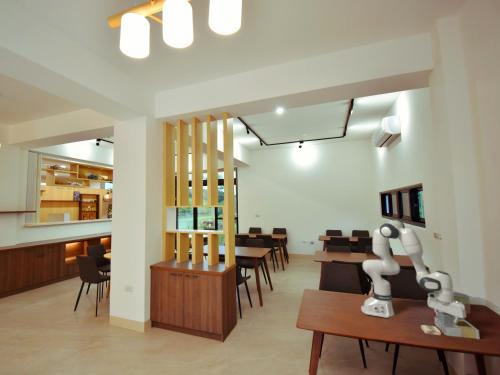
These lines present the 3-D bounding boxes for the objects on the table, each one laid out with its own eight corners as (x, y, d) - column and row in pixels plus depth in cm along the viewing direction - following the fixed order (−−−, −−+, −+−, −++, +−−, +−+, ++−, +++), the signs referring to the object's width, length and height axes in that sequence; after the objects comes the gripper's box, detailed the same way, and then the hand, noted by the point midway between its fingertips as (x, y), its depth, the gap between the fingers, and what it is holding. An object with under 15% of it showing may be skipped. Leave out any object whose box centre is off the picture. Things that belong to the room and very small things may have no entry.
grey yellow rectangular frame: (446, 335, 145) (445, 326, 146) (435, 324, 159) (434, 316, 159) (479, 339, 141) (478, 330, 141) (465, 327, 155) (464, 319, 155)
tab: (425, 333, 148) (425, 330, 148) (421, 328, 155) (420, 324, 155) (440, 335, 146) (440, 331, 146) (435, 329, 153) (435, 326, 153)
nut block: (444, 323, 150) (443, 315, 150) (439, 320, 155) (438, 312, 155) (453, 324, 149) (452, 315, 149) (447, 320, 154) (447, 312, 154)
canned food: (450, 307, 185) (448, 291, 186) (469, 310, 179) (467, 294, 180) (451, 312, 176) (450, 295, 177) (472, 316, 170) (470, 299, 171)
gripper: (467, 302, 144) (469, 326, 143) (431, 291, 163) (432, 312, 162) (461, 304, 142) (463, 328, 141) (425, 293, 161) (426, 314, 159)
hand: (446, 319), depth 151 cm, fingers open, 8 cm apart
